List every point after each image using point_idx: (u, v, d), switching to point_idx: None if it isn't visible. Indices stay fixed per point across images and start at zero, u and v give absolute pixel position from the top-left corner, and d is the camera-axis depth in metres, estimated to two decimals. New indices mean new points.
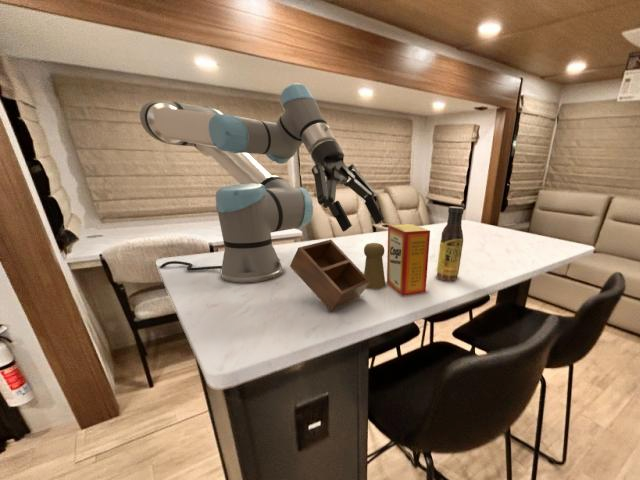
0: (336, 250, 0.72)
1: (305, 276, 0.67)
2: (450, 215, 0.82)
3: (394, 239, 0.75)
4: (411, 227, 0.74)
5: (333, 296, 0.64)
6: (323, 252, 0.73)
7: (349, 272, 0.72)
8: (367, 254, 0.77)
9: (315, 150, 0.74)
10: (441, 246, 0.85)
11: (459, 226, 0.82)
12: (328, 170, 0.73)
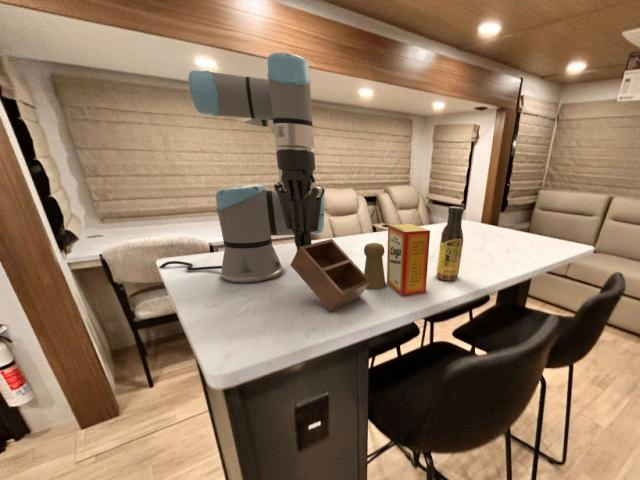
0: (337, 250, 0.72)
1: (305, 275, 0.66)
2: (450, 215, 0.82)
3: (394, 239, 0.75)
4: (411, 227, 0.74)
5: (333, 296, 0.64)
6: (324, 251, 0.73)
7: (349, 272, 0.72)
8: (367, 254, 0.77)
9: None
10: (441, 246, 0.85)
11: (459, 226, 0.82)
12: (283, 183, 0.67)
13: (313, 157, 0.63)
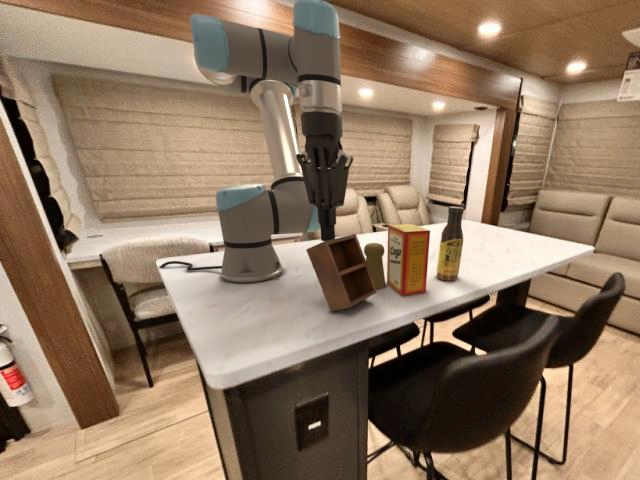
0: (357, 248, 0.69)
1: (319, 269, 0.64)
2: (450, 215, 0.82)
3: (394, 239, 0.75)
4: (411, 227, 0.74)
5: (340, 302, 0.64)
6: (342, 242, 0.69)
7: (360, 274, 0.70)
8: (367, 254, 0.77)
9: None
10: (441, 246, 0.85)
11: (459, 226, 0.82)
12: (306, 152, 0.61)
13: (341, 122, 0.57)
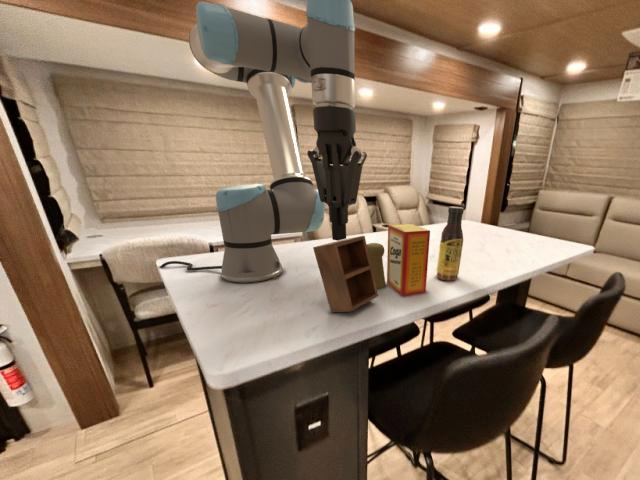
0: (364, 250, 0.68)
1: (324, 269, 0.63)
2: (450, 215, 0.82)
3: (394, 239, 0.75)
4: (411, 227, 0.74)
5: (341, 305, 0.64)
6: None
7: (364, 275, 0.70)
8: None
9: None
10: (441, 246, 0.85)
11: (459, 226, 0.82)
12: (318, 148, 0.59)
13: (354, 117, 0.56)
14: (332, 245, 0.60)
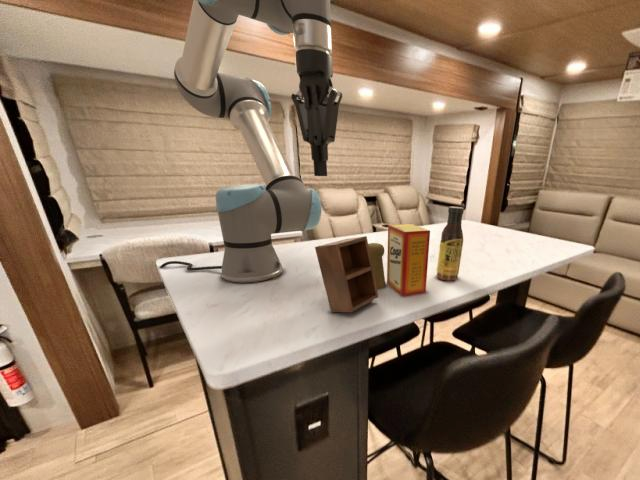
0: (365, 251, 0.68)
1: (325, 269, 0.63)
2: (450, 215, 0.82)
3: (394, 239, 0.75)
4: (411, 227, 0.74)
5: (342, 306, 0.64)
6: None
7: (364, 276, 0.70)
8: None
9: None
10: (441, 246, 0.85)
11: (459, 226, 0.82)
12: (300, 91, 0.67)
13: (331, 61, 0.64)
14: (334, 246, 0.59)
